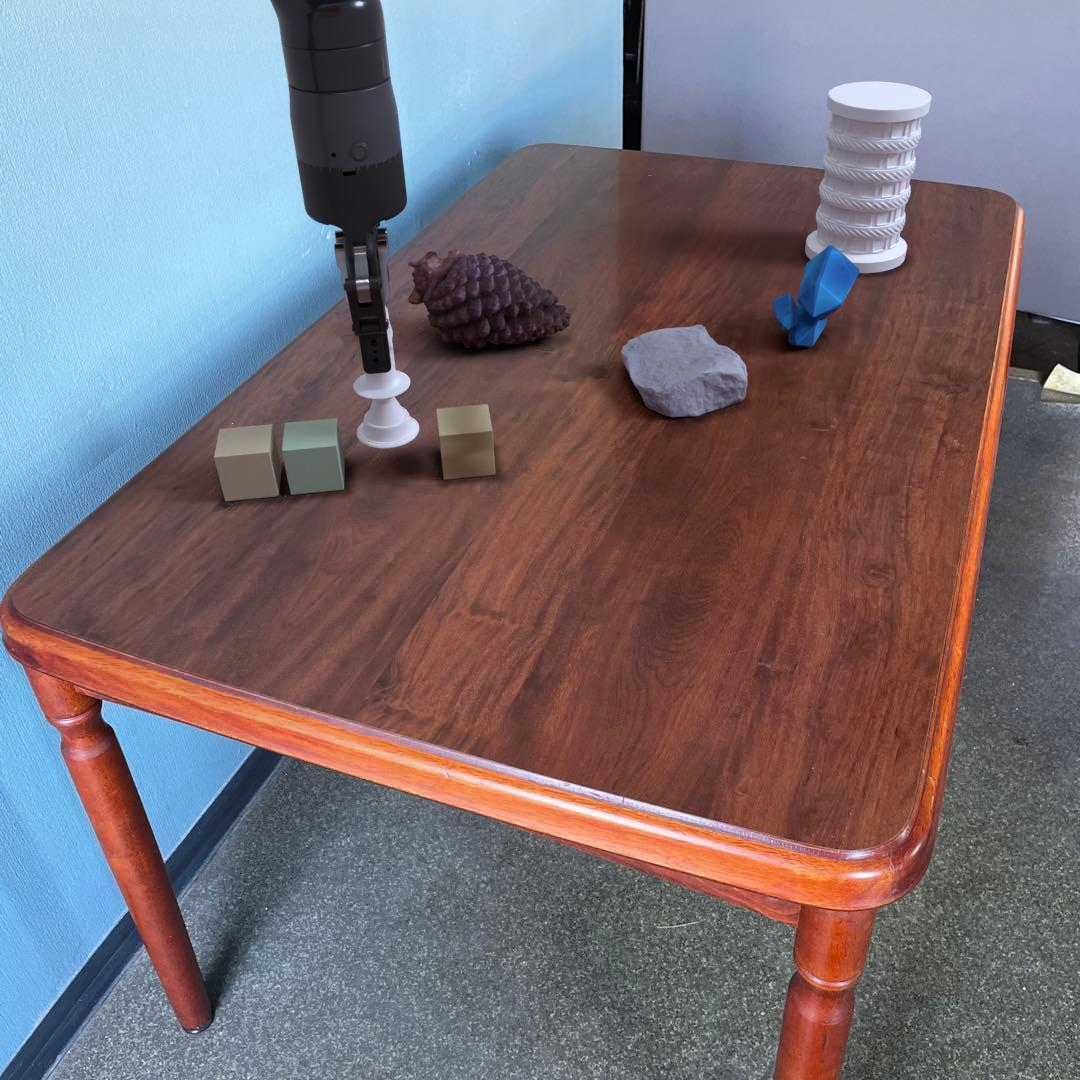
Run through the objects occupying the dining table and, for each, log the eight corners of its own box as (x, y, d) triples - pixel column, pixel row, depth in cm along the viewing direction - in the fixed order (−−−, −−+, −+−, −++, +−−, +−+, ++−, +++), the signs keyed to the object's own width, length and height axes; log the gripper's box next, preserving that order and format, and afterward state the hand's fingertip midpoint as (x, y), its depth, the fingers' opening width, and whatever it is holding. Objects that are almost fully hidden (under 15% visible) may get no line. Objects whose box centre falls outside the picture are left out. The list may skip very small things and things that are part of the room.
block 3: (443, 480, 92) (438, 435, 90) (440, 452, 96) (436, 408, 93) (495, 475, 93) (492, 430, 90) (490, 447, 96) (487, 403, 94)
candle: (393, 408, 95) (377, 282, 87) (432, 431, 92) (418, 303, 84) (344, 432, 92) (322, 304, 84) (382, 457, 89) (363, 326, 81)
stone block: (663, 440, 99) (758, 399, 101) (655, 397, 96) (752, 355, 98) (611, 386, 108) (698, 349, 110) (601, 345, 105) (691, 307, 107)
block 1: (225, 501, 91) (213, 457, 88) (230, 472, 94) (219, 428, 92) (278, 496, 91) (269, 451, 88) (282, 467, 95) (272, 423, 92)
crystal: (764, 293, 104) (795, 222, 111) (761, 361, 111) (790, 291, 117) (841, 304, 101) (869, 231, 108) (833, 374, 108) (860, 301, 115)
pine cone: (573, 313, 117) (588, 260, 108) (550, 391, 113) (563, 342, 104) (416, 266, 116) (418, 209, 107) (388, 343, 113) (388, 290, 104)
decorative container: (786, 256, 127) (804, 98, 116) (836, 227, 134) (858, 74, 123) (875, 282, 121) (903, 117, 110) (923, 249, 128) (954, 91, 117)
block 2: (290, 495, 91) (281, 450, 88) (293, 466, 95) (284, 422, 92) (344, 490, 92) (336, 445, 89) (344, 461, 95) (337, 417, 92)
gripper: (299, 120, 82) (333, 328, 92) (290, 182, 71) (329, 410, 81) (398, 114, 82) (420, 320, 93) (404, 174, 71) (428, 401, 82)
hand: (377, 361), depth 87 cm, fingers closed on candle, 2 cm apart
